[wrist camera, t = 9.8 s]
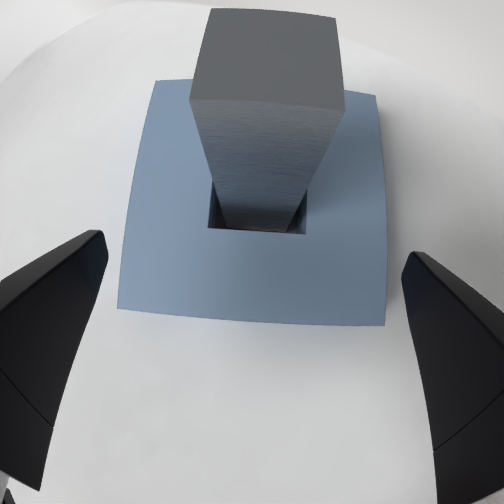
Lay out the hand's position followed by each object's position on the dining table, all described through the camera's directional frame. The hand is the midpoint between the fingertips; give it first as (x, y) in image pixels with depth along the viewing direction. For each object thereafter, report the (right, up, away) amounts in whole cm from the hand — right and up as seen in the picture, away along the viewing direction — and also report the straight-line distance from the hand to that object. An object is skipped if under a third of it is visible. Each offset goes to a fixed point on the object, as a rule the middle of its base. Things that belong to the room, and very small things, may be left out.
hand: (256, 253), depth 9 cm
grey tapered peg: (0, +3, +11) cm, 11 cm away
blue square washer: (0, +3, +11) cm, 11 cm away
